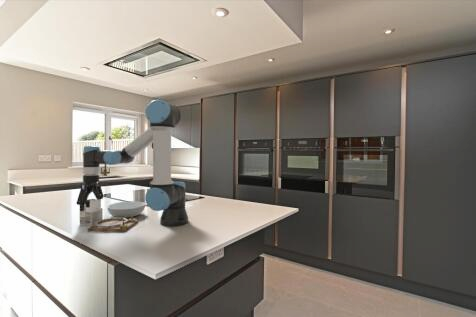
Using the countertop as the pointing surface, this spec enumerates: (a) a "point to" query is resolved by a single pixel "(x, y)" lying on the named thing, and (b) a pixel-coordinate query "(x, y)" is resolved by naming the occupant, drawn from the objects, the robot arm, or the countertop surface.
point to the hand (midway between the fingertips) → (90, 213)
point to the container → (91, 213)
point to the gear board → (113, 225)
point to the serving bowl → (126, 209)
